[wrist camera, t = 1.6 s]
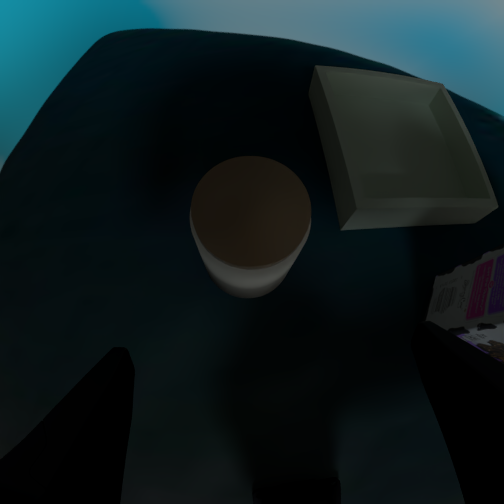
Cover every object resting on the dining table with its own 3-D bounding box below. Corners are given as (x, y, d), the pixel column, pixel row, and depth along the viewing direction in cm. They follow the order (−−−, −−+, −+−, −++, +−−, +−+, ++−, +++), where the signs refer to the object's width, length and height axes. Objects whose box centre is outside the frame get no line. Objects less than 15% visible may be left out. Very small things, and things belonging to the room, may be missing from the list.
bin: (474, 223, 26) (498, 206, 22) (340, 230, 25) (356, 208, 21) (428, 105, 30) (442, 83, 26) (308, 93, 29) (315, 65, 25)
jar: (295, 294, 23) (324, 262, 15) (206, 301, 23) (188, 273, 15) (284, 213, 25) (304, 151, 17) (202, 219, 25) (187, 157, 17)
